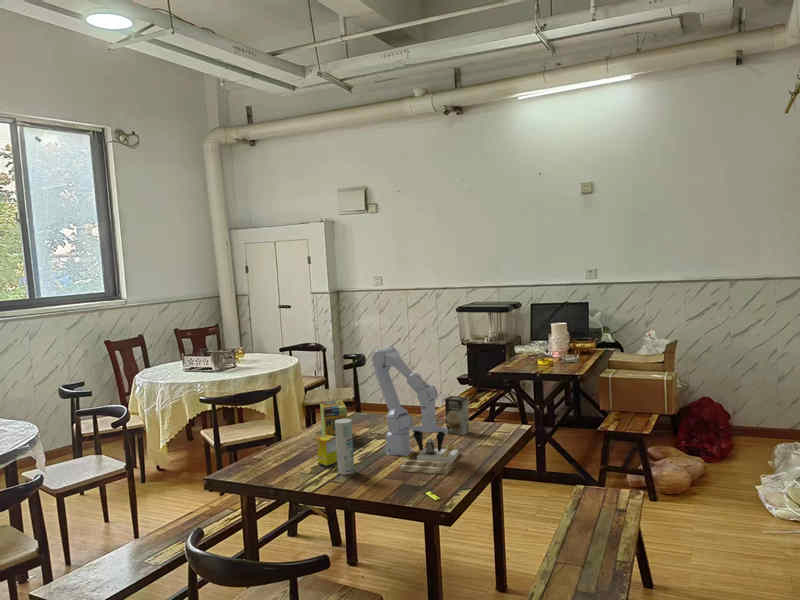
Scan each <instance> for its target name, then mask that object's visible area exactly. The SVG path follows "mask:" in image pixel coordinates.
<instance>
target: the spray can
mask: <svg viewBox="0 0 800 600" xmlns="http://www.w3.org/2000/svg"><path fill="white" fill-rule="evenodd" d="M335 434H336V448H337V462H338V464H337V472H338V474H339V475H343V476H347V475H346V474H348V475H351V473H352V474H353V473H354V472H355V459H354V456H355V455H354V441H353V440H354V437H353V422H352V419H351V418H347V419H338V420H336V421H335Z"/></svg>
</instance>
